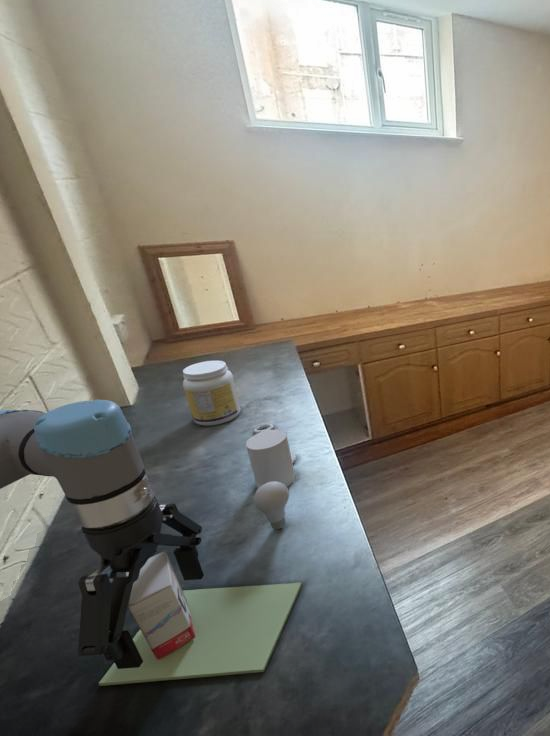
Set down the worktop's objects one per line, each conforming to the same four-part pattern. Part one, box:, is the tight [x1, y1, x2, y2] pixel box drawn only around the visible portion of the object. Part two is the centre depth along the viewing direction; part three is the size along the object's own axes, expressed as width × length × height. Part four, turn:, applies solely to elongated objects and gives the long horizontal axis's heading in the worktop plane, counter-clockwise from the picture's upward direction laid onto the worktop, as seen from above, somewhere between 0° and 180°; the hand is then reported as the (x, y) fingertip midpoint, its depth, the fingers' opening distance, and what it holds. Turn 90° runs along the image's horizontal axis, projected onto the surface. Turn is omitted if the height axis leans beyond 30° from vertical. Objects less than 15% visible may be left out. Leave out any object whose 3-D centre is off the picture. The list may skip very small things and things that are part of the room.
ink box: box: [125, 550, 195, 659], centre depth 60 cm, size 9×5×12 cm, turn 44°
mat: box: [98, 582, 303, 687], centre depth 63 cm, size 22×14×1 cm, turn 95°
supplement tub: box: [182, 360, 242, 427], centre depth 120 cm, size 12×12×17 cm
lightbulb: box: [253, 481, 290, 530], centre depth 81 cm, size 6×6×11 cm
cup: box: [245, 429, 296, 490], centre depth 94 cm, size 8×8×12 cm
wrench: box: [253, 423, 297, 464], centre depth 109 cm, size 25×2×5 cm
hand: (165, 617), depth 61 cm, fingers open, 13 cm apart
